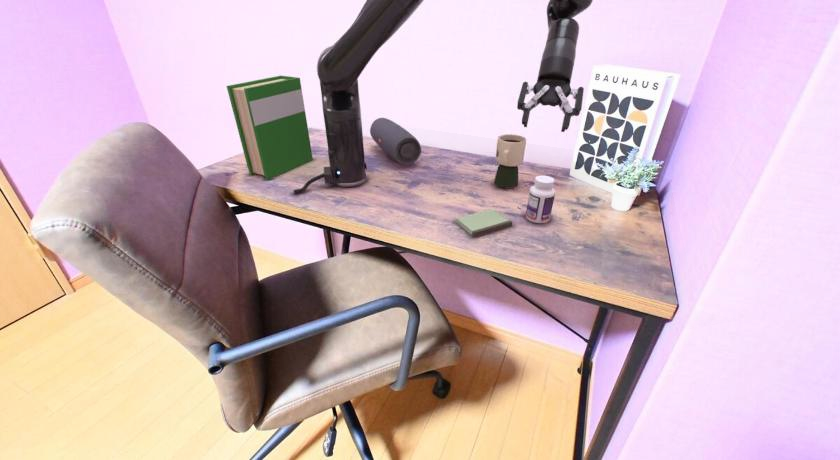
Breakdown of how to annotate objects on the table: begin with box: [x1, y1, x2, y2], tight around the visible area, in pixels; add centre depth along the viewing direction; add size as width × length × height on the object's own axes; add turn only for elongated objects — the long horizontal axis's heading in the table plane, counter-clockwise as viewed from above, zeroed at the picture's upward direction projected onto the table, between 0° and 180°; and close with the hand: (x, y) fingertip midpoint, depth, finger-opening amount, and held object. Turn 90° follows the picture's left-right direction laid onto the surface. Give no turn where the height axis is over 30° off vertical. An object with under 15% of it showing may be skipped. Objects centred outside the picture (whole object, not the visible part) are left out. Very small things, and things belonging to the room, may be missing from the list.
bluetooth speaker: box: [369, 117, 422, 165], centre depth 115 cm, size 23×9×10 cm, turn 25°
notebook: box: [455, 208, 513, 238], centre depth 82 cm, size 10×7×1 cm
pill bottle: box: [525, 175, 556, 224], centre depth 82 cm, size 5×5×10 cm
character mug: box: [493, 133, 527, 189], centre depth 96 cm, size 11×7×13 cm, turn 152°
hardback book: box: [226, 75, 314, 181], centre depth 104 cm, size 18×7×24 cm, turn 150°
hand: (544, 128), depth 86 cm, fingers open, 8 cm apart
